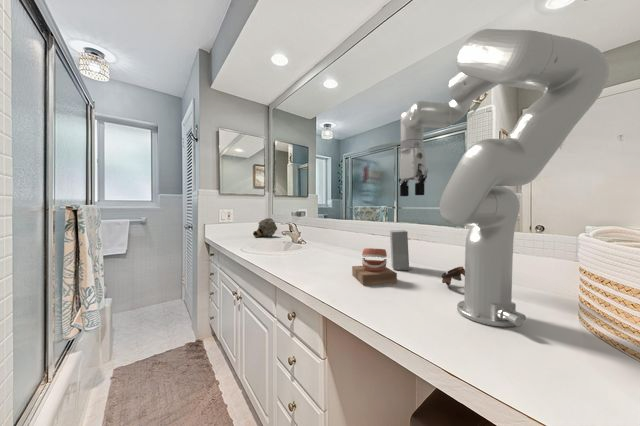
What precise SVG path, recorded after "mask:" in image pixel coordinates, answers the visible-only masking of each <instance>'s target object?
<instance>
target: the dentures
mask: <svg viewBox="0 0 640 426" xmlns="http://www.w3.org/2000/svg"><path fill="white" fill-rule="evenodd" d="M361 256H362V257H363V258H362V259H361V264H362V266H363V268H364V269H365V270H368V271H382V270H384V269H385V267H387V263H388V262H387V250H386V249H384V248H371V247H370V248H368V247H367V248H363V250H362V254H361ZM366 257H367V258H370V257H371V258H382V259H383V260H380V259H379V260H378V259H366ZM384 258H385V259H384Z"/></svg>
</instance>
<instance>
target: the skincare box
mask: <svg viewBox="0 0 640 426" xmlns="http://www.w3.org/2000/svg"><path fill="white" fill-rule="evenodd" d="M408 234H409V233H408V231H407V230H406V229H399V230H398V229H397V230H394V229H393V230H390V231H389V235H390V240H389V241H390V258H391V267H392V271H407V272H408V271H410V256H409V237H408V236H409V235H408Z"/></svg>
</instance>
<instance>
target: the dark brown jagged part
mask: <svg viewBox="0 0 640 426" xmlns="http://www.w3.org/2000/svg"><path fill="white" fill-rule="evenodd" d="M446 272H447V273H446ZM446 272H444V273H442V274H441V275H440V276H441V278H442V282H441V283H442V284H445V285H446V286H450V285H451V283H452V279H453V280H456V281H459V282H461V281H463V279H462V275H463V277H465V267H463V266H457V267H454V268H452V269H450V270H447V271H446Z"/></svg>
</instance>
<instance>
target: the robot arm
mask: <svg viewBox="0 0 640 426" xmlns="http://www.w3.org/2000/svg"><path fill="white" fill-rule="evenodd" d="M608 62H609V61H608V60H607V58H606V56H605V54H604V53H603V52H602V51H601V50H600V49H599V48H597V47H595V46H594V45H592V44H590V43H588V42H585V41H582V40H580V39H579V40H578V39H575V38H570V37H568V36H567V37H565V36H560V35H556V34H552V33H549V32H548V33H547V32H543V31H538V30H532V29H531V30H530V29H495V28H484V29H481V30H479V31H476V32H475V33H473V34H472V35H471V36H469V37H468V38H467V39H466V40H465V41H464V42H463V44H462V45H461V47H460V49H459V52H458V53H457V57H456V67H457V70H458V71H457V72H455V73H454V74H453V75H452V76H451V77H450V79H449V82H448V92H449V95H450V97H451V98H452V99H451V100H449V101H448V102H445V103H444V102H435V101H425V100H419V101H416V102H414V103H413V104H412V105H411V106H410V107H409V109H408V110H406V111H404V112H402V113H401V115H400V160H399V161H400V162H399V173H398V174H397V178H398V179H397V180H398V184H399V196H400V197H409V185H408V184H409V183H410V180H411V181H415V183H414V195H415V196H424V195H425V183H426V182H427V181H426V179H427V177H428V173H429V168H427V159H426V153H425V149H424V128H425V127H426V128H434V129H435V128H436V129H442V128H446V127H448V126H451V125H453V124H455V123H456V122H457V121H459V120H461V119H462V118H464V116H465V115H466V114H467V113H468V111H470V108H471V106H472V104H473V101H475V100H476V99H478V98H479V97H481V96H482V95H484V94H485V93H487V92H489V91H490V90H492V89H494V88H495V87H496V86H499V85H502V86H506V87H514V88H520V89H526V90H533V91H534V90H535V91H541V92H542V93H543V94H542V96H541V97H539V98H538V99H537V100H536V101H535V102H533V103H532V104H531V105H530V106H529V107H528V108H527V109H526V110H525V111H524V112H523V113H522V114H521V116H520V117H519V118H518V120H517V122H516V123H515V126H514V127H513V129H512V130H511V131H510V133H509V134H508V136H507V137H506V138H504V139H503V138H487V139H481V140H479V141H477V142H476V143H474V144H472V145H471V146H470V147H469V148H468V149H467V150H465V152H464V153H463V154H462V156H461V158H460V160H459V162H458V163H457V165H456V168H455V169H454V171H453V172H452V174H451V176H450V178H449V181H448V182H447V185H446V186H445V188H444V190H443V192H442V194H441V197H440V200H439V213H440V216H441V217H442V219H443V220H444V221H445V222H446V223H448V224H449V225H451V226H458V227H459V226H461V227H468V226H470V228H469V230H468V232H467V235H466V238H465V246H464V247H465V249H464V257H465V258H464V259H465V260H464V270H465V276H464V294H463V295H464V297H463V298H464V299H463V300H461V301H459V302H457V305H456V306H457V307H456V310H457V312H458V313H459V314H461V315H462V316H463V317H464V318H467V319H469V320H471V321H474V322H477V323H479V324H483V325H488V326H492V327H502V328H505V327H507V328H509V327H515V326H517V327H519V326H521V325H522V324H523V322H524V321H526V318H527V316H526V315H525V314H524V313H522V312H520V311H519V312H518V311H517V309H516V307H517V305H516V304H517V303H515V302H513V301H512V295H513V294H512V291H513V289H512V288H513V260H514V259H513V258H514V257H513V256H514V255H513V254H514V240H515V239H514V237H515V232H516V231H515V229H516V225H517V221H518V217H519V214H520V205H521V204H520V200H519V197H518V196H517V194H516V193H515V192H514V191H513V190H512V189H510V188H508V187H518V186H519V187H520V186H524V185H527V184H529V183H531V182H533V181H534V180H535V179H536V178H537V177H538V176H539V175H540V173H541V172H542V171H543V170H544V168H545V167H546V166H547V164H548V163H549V162H550V160H551V159H552V158H553V157H554V155H555V153H557V151H558V150H559V148H560V147H561V146H562V144H563V143H564V142H565V140H566V139H567V138H568V136H569V134H570V133H571V132H572V131H573V129H574V128H575V127H576V125H577V124H578V123H579V122H580V121H581V120H582V119H583V117H584V115H585V114H586V113H588V112H589V110H590V109H591V108H592V106H593V105H594V104H595V103H596V101H597V100H598V98H599V97H600V96H601V94H602V92H603V91H604V88H605V87H606V85H607V83H608V78H609V73H610V71H609V68H610V67H609V63H608Z"/></svg>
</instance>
